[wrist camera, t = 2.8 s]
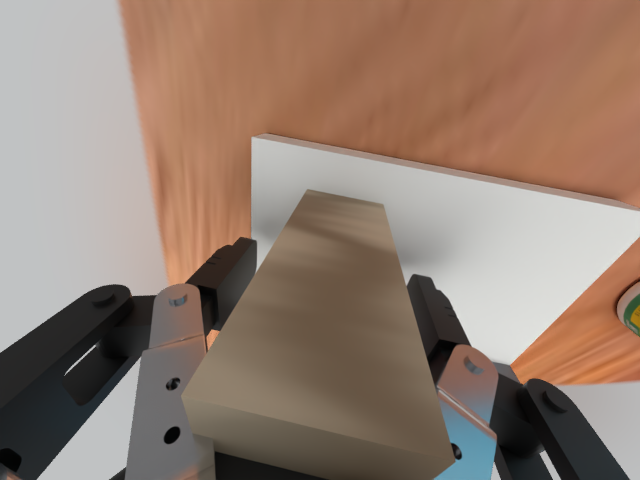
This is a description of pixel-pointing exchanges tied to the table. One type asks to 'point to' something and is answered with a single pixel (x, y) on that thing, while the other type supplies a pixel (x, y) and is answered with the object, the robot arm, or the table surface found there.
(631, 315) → the supplement bottle
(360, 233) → the tea box
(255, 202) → the shelf
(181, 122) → the table surface
